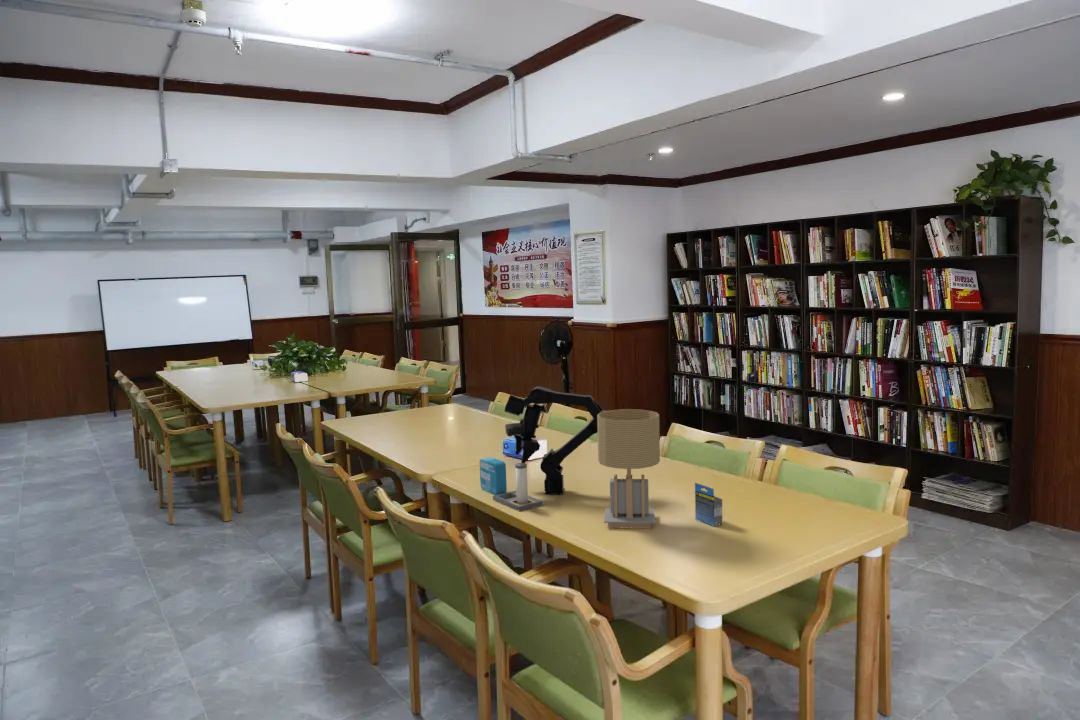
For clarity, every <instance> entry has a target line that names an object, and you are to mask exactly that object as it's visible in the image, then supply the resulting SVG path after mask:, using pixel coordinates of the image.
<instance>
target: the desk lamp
mask: <svg viewBox="0 0 1080 720" xmlns="http://www.w3.org/2000/svg"><path fill="white" fill-rule="evenodd" d="M597 426H598V433H597V461H598V462H599V465H602V466H604V467H607V468H613V469H620V470H621V469H622V470H623V469H624V470H626V474H625V478H618V474H614V476H613V478H610V480H609V500H610V501H609V503H610V504H609V505H610V507H606V508H605V512H604V513H605V514H604V520H603V523H604V524H608V526H607V528H608V527H618V529H621V528H620V527H623V528H622V529H652V525H653V524H655V525H656V517H655V508H650V506H649V505H650V503H649V500H650V499H649V497H650V496H649V478H645V474H641V476H640V477H641V478H633V474H632V470H635V469H636V470H639V469H644V468H645V469H646V468H652V467H654V466H657V465H658V464H659V463H660V461H661V455H660V454H661V453H660V452H661V451H660V449H661V447H660V446H661V445H660V442H661V441H660V440H661V439H660V414H659V413H658V412H657V411H653V410H648V409H647V410H646V409H636V408H635V409H633V408H623V409H613V410H605V412H601V413H599V414H598V415H597ZM626 527H627V528H626ZM630 527H632V528H630Z"/></svg>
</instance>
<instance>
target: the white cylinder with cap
mask: <svg viewBox="0 0 1080 720" xmlns="http://www.w3.org/2000/svg"><path fill="white" fill-rule="evenodd" d="M527 465H528V464H527V462H525V463H521V462H518V463H515V464H514V469H515V489H516V490H515V491H516V500H517V504H518V505H523V504H527V503H528V496H529V494H528V466H527Z"/></svg>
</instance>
